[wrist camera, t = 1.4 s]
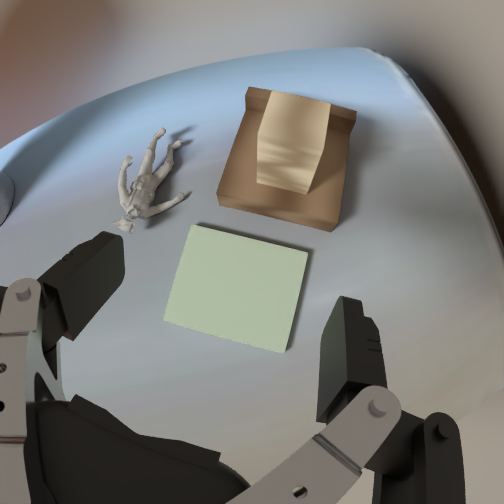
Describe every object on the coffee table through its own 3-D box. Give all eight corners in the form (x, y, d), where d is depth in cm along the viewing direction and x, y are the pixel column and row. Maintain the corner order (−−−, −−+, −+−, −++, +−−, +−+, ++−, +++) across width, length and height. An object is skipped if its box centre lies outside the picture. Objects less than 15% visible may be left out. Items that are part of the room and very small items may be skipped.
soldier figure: (202, 156, 34) (175, 237, 28) (178, 174, 37) (150, 252, 31) (152, 117, 30) (107, 193, 23) (131, 140, 33) (89, 215, 26)
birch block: (256, 182, 29) (257, 133, 21) (268, 142, 30) (271, 90, 22) (306, 194, 29) (323, 149, 21) (314, 153, 30) (330, 103, 22)
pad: (165, 320, 29) (162, 320, 28) (193, 226, 31) (191, 224, 30) (283, 352, 28) (284, 353, 27) (306, 254, 30) (308, 252, 29)
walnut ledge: (219, 205, 32) (213, 180, 26) (249, 117, 35) (248, 86, 29) (330, 232, 31) (345, 212, 25) (344, 139, 34) (356, 111, 28)
